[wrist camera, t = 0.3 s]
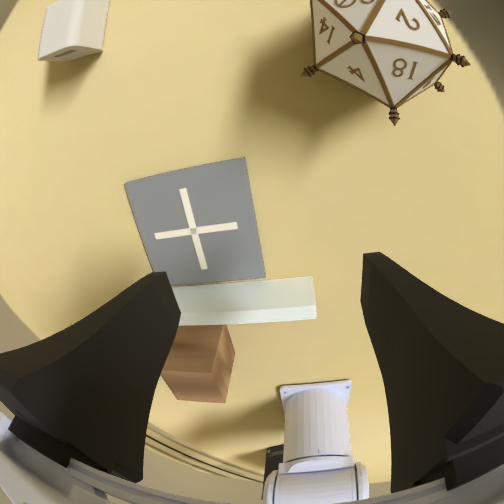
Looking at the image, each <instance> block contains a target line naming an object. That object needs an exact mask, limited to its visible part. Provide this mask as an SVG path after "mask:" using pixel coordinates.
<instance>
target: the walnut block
mask: <svg viewBox="0 0 504 504" xmlns="http://www.w3.org/2000/svg"><path fill="white" fill-rule="evenodd" d="M234 356H235V350H234V347H233V344H232V341H231V338H230V335H229V332H228V328H227V325H183V326H178V329H177V333H176V336H175V339H174V342H173V344H172V347H171V349H170V352H169V354H168V357H167V359H166V362H165V364H164V367H163V369H162V372H161V376H162V378H163V379H164V381H165V382H166V384H167V385H168V387H169V388H170V390H171V391H172V393H173V394H174V396H175V397H176V398H177V400H185V401H197V402H212V403H226V398H227V392H228V387H229V382H230V377H231V372H232V367H233V361H234Z"/></svg>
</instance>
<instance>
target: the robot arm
mask: <svg viewBox="0 0 504 504" xmlns="http://www.w3.org/2000/svg"><path fill="white" fill-rule="evenodd" d="M360 301H361V306H362V310H363V315H364V320H365V324H366V327H367V330H368V333H369V336H370V339H371V342H372V345H373V348H374V351H375V354H376V357H377V361H378V364H379V367H380V370H381V374H382V378H383V382H384V386H385V393H386V399H387V406H388V414H389V423H390V435H391V458H392V465H391V494H387V495H383V496H378V497H373V498H369V481H368V473H367V469H366V466H365V465H363V464H362V463H361V462H356V463H355V465H354V456H352V454H351V442H350V432H349V422H348V413H347V407H348V402H349V397H350V391H351V386H352V382H351V380H343V381H334V382H325V383H314V384H302V385H286V386H281V387H280V395H281V400H282V406H283V411H284V416H285V434H284V453H283V463H279V469H278V470H274V471H272V473H271V474H270V475H269V476H268V477H267V479H266V481H265V485H264V490H263V504H504V324H503V323H500V322H498V321H495V320H493V319H490V318H488V317H486V316H483V315H481V314H479V313H477V312H474V311H472V310H470V309H468V308H466V307H464V306H462V305H460V304H459V303H457V302H455V301H453V300H451V299H449V298H448V297H446V296H444V295H442V294H441V293H439V292H438V291H436V290H435V289H433V288H431V287H430V286H428V285H427V284H425V283H424V282H422V281H421V280H419V279H418V278H416V277H415V276H414V275H412V274H411V273H409V272H408V271H407V270H405V269H404V268H402V267H401V266H400V265H398V264H397V263H395V262H394V261H393V260H391V259H390V258H388V257H387V256H385V255H384V254H382V253H381V252H374V253H365V254H363V270H362V287H361V300H360ZM180 317H181V311H180V308H179V306H178V303H177V301H176V298H175V295H174V293H173V290H172V287H171V284H170V282H169V279H168V276H167V273H166V271H163V272H152V273H150V274H148V275H146V276H145V277H143V278H141V279H140V280H138V281H137V282H135V283H134V284H133V285H131V286H130V287H128V288H127V289H125V290H124V291H123V292H121V293H120V294H119V295H117V296H116V297H114V298H113V299H112V300H110V301H109V302H107V303H106V304H104V305H103V306H101V307H100V308H98V309H97V310H96V311H94V312H93V313H91V314H90V315H88V316H87V317H85V318H83V319H82V320H80V321H78V322H77V323H75V324H73V325H71V326H70V327H68V328H66V329H64V330H62V331H60V332H58V333H56V334H54V335H52V336H50V337H48V338H45V339H43V340H41V341H38V342H36V343H33V344H31V345H28V346H25V347H22V348H19V349H16V350H12V351H8V352H5V353H1V354H0V401H1V402H2V403H3V404H4V405H5V406H6V407H7V408H8V409H9V410H10V411H11V412H12V413H13V414H14V415H15V417H14V419H13V420H12V419H10V418H9V417H8V416H7V415H5V414H4V413H3V412H1V411H0V486H1V488H2V489H3V490H4V492H5V493H6V495H7V496H8V497H9V499H10V500H11V501H12V503H13V504H114V503H112V502H109V501H108V499H107V496H106V494H109V495H111V496H113V497H116V498H118V499H121V500H123V501H126V502H129V503H132V504H229V503H220V502H213V501H206V500H200V499H194V498H189V497H184V496H180V495H175V494H171V493H166V492H163V491H159V490H155V489H151V488H148V487H145V486H141V485H138V484H135V483H137V482H139V481H141V480H142V479H143V459H144V446H145V438H146V430H147V424H148V419H149V414H150V409H151V404H152V400H153V396H154V392H155V388H156V385H157V382H158V379H159V377H160V374H161V372H162V369H163V367H164V364H165V362H166V359H167V357H168V354H169V352H170V349H171V347H172V344H173V342H174V339H175V336H176V333H177V329H178V326H179V321H180ZM102 471H103V472H102ZM104 472H105V473H104ZM107 473H108V474H107ZM109 474H111V475H109ZM112 475H113V476H112ZM115 476H116V477H115ZM117 477H119V478H117ZM120 478H121V479H120ZM123 479H124V480H123ZM126 480H127V481H126ZM129 481H130V482H129ZM132 482H133V483H132ZM103 492H104V493H103ZM105 493H106V494H105Z"/></svg>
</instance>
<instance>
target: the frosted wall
mask: <svg viewBox="0 0 504 504" xmlns="http://www.w3.org/2000/svg"><path fill="white" fill-rule="evenodd" d="M172 290H173V293H174V295H175V298H176V301H177V303H178V306H179V308H180V311H181V317H180V321H179V326H183V325H226V324H248V323H265V322H280V321H293V320H304V319H315V318H316V302H315V294H314V287H313V279H312V276H304V277H294V278H283V279H272V280H261V281H249V282H237V283H224V284H211V285H196V286H181V287H172Z"/></svg>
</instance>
